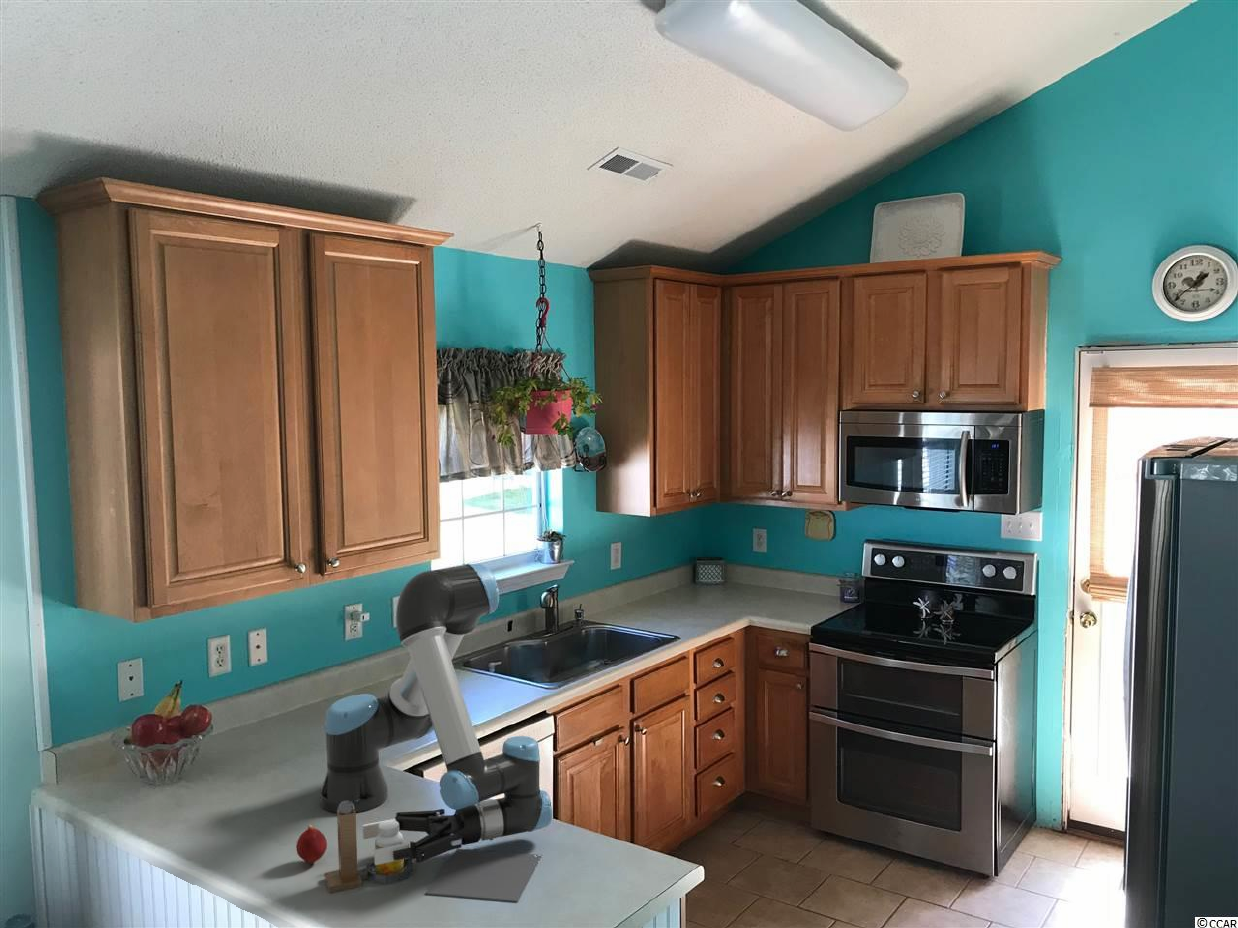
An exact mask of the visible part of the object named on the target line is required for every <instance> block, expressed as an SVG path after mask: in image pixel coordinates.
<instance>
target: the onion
mask: <svg viewBox="0 0 1238 928" xmlns="http://www.w3.org/2000/svg"><path fill="white" fill-rule="evenodd" d="M295 845H296V847H295V848H296V853H297V855H298V857H300V859H302V860H303V861H305V862H306V863H307V864H309V865H313V864H314V863H316V862H318V861H319V860H320V859H322V857H323V856H324V855H325V853H326V852H327V847H328V841H327V838H326V836H325V835H324V834H323V832H321V830H319V829H317V828H316V827H314V826H313V825H311V824H307V828H306V829H305V830H304V831H303V832H302V833H301V834H300V836H299V837H298V839H297V841H296V844H295Z"/></svg>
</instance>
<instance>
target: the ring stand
mask: <svg viewBox="0 0 1238 928" xmlns="http://www.w3.org/2000/svg"><path fill="white" fill-rule="evenodd" d="M356 813H357V812H355V810H354V804H353V803H352V802H351V801H348V800H345V801H343V802H341V803H340V805H339V807H338V809H337V813H336V818H337V819H336V820H337V821H336V822H337V847H338V848H337V849H338V850H337V853H338V869H336V870H332V871H327V872H324V880H325V884H326V886H327V891H328V892H329V894H332V893H336V892H340V891H344V890H350V889H354V888H358V887H362V886H363V882H362V881H363V880H369V881H371V882H372V883H374V884H385V885H387V884H388V885H389V884H393V883H399V882H401V881H403V880H405V879H408V878H409V877H410V876H411V875H412V873H413V872H414V862H413V859H411V858H407V859H404V869H402V870H400V871H398V872H394V873H388V874H384V873H377V872H376V865H375V861H374V858H372V859H370V861H369V862H368V863H367V864H366V865H365V867H364V868H360V869H358V850H357V849H358V847H357V844H358V842H357V819H356V817H357V816H356V815H357V814H356Z"/></svg>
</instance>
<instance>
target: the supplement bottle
mask: <svg viewBox="0 0 1238 928" xmlns="http://www.w3.org/2000/svg"><path fill="white" fill-rule="evenodd" d="M388 820H389V821H385V820H383V821H384V822H382V823H380V824H379V826H378V832H379V835H378V836H377V837H375V840H374V844H375V845H374V846H375V847H374V848H375V849H380V848H385V847H390V846H395V845H399V844H404V836H403V834H402V833H401V832H400V830H399V823H398V822H397V821H393V820H390V819H388ZM375 849H374V850H375ZM404 868H405V865H404V859H402V860H397V861H393V862H388V863H383V864H379V865H376V868H375V872H377V873H384V874H388V873H394V872H398V871H400V870H402V869H404Z"/></svg>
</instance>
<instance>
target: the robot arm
mask: <svg viewBox="0 0 1238 928" xmlns="http://www.w3.org/2000/svg"><path fill="white" fill-rule="evenodd" d="M398 597H399V598H398V601H397V603H396V604H397V606H396V612H395V613H396V615H395V623H396V631H397V636H398V639H399V641H400V644H401V646H403V647H405V648H406V649H407V650H408V653H409V655H410V660H409V662H408V665H407V666H406V669H405V670H404V673H403V675H402V677H399V678H398V679H396V680H395V681H393V683H391V685H390V687H389V690H388V691H387V694H386V695H384V696H380V697H376V696H375V695H372V694H370V693H360V694H357V695H356V694H353V695H348V696H346V697H343V698H340V699H337V700H336V701H335V702H332V704H331V705H330V706H329V707H328V708H327V710H326V714H325V724H324V729H325V739H326V740H325V741H326V774H325V775H324V776H325V777H324V780H323V782H322V783H323V784H322V787H321V790H320V792H319V793H320V795H319V797H320V800H319V801H320V806H321V808H323V809H324V810H326V811H328V812H331V813H336V814H337V809H338V807H339V805H340V803H341V802H343V801H345V800H348V801H351V802H352V803H353V804H354V810H355V812H356V813H360V812H365V811H368V810H371V809H375V808H377V807H379V806H380V805H382V804H383V803H385V802H386V801H387V800H388V797H389V794H388V793H389V791H388V784H387V782H386V779H385V776H384V774H383V773H384V772H383V771H382V768H381V765H380V750H382V749H384V748H388V747H389V748H390V747H392V746H395V745H398V744H403V743H406V742H409V741H412V740H418V739H421V738H423V737H425V736H427V735H429V734H431V733H432V732H433V731H434V734H435V737H436V739H437V742H438V745H439V750H440V752H441V756H442V759H443V762H444V764H445V767H446V771H447V772H445V773H443V775H441V777H440V781H439V787H440V789H439V794H440V797H441V799H442V801H443V802H444V804H445V805H446V806H447V807H448V808H449V809H451V810H454V811H455V812H454V814H453V815H452V814H451V815H448V814H447V815H446V812H445V809H444V808H440V809H435V810H417V811H415V810H414V811H399V812H396V813H395V817H394V818H391V819H385V820H380V821H376V822H370V823H366V824H362V839H363V840H368V839H372V838H373V839H374V838H376V837H377V836H378V835H379V832H378V826H379V824H380V823H382V822H384V821H389V820H393V821H397V822H398V823H399V831H403V832H406V831H407V832H421V833H426V836H424V837H422V838H421V839H418V840H417V841H410V842H406V843H405V842H403V844H399V845H395V846H390V847H385V848H380V849H374V851H373V853H374V854H373V855H374V858H373V859H374V861H375V865H379V864H383V863H388V862H393V861H397V860H402V859H407V858H411V859H412V860H415V862H416V863H417V864H420V863H422V862H425V861H427V860H429V859H432V858H435V857H436V856H440V855H442V854H445V853H446V852H449V851H452V850H456V849H462V846H466V845H472V844H475V843H479V841H482V842H484V841H494V839H498V838H503V837H507V836H512V835H513V836H514V835H517V834H522V833H527V832H528V833H531V832H534V831H537V830H541V829H543V828H547V827H549V826H550V824H551V823H552V820H553V815H554V814H553V807H552V800H551V798H550V795H549V793H548V792H547V791H546V790H544V789H542V790H541V789H540V788H541V787H540V763H541V762H540V761H541V758H540V756H541V755H540V748H539V742H538V740H537V739H535V738H533V737H531V736H526V735H519V736H518V735H517V736H511V737H510V738H507V739H506V740H504V741H503V743H502V749H501V752H502V753H500V754H497V755H495V756H491V757H488V758H484V756H483V753H482V750H481V747H480V744H479V741H478V737H477V734H476V731H475V729H474V726H473V722H472V720H471V717H470V714H469V711H468V707H467V705H466V702H465V701H466V700H465V698H464V694H463V691H462V689H461V687H460V686H461V685H460V682H459V680H458V677H457V674H456V670H455V667H454V664H453V662H452V660H453V659H454V656H455V654H456V652H457V650H458V648H459V646H460V645H461V643H462V640H463V638H464V636H466V635H469V634H471V633H472V632H473V631H475V629H476V627H477V625H478V624H479V622H480V619H481V617H483V616H489V615H491V614H493V613H494V612H495V611H496V610H497V608H498V606H499V603H500V590H499V587H498V583H497V579H496V577H495V576H494V573H493V572H492V571H491V570H490V569H489V568H488V567H487V566H486V565H484V564H482V563H466V564H462V565H456V566H451V567H446V568H440V569H434V570H425V571H422V572H420V573H417V574H416V575H414V576H413V577H412V578H410V579H409V580H408V582H407V583H406V584H405V585H404V587H403V589H402V590H401V593H400V595H399V596H398ZM500 795H504V796H503V797H501V798H500V797H499V798H494V797H497V796H500ZM491 798H494V799H491Z"/></svg>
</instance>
